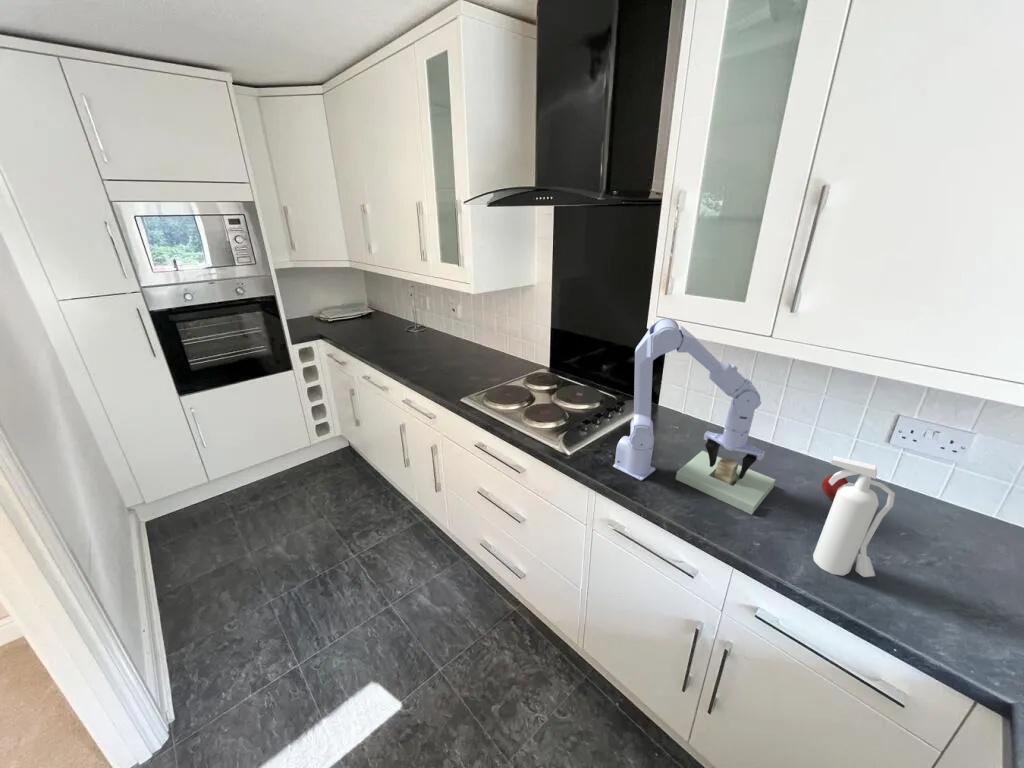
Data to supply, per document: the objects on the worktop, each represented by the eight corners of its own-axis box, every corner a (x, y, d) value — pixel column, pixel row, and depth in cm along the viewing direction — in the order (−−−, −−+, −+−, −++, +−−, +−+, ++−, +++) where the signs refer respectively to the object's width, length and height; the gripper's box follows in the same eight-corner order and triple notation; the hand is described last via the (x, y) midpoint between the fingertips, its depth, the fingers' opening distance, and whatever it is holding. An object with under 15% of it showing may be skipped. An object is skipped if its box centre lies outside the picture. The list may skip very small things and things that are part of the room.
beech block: (712, 483, 116) (717, 462, 114) (718, 477, 119) (723, 456, 116) (727, 490, 114) (733, 468, 111) (733, 484, 116) (738, 462, 113)
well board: (675, 479, 118) (676, 471, 117) (700, 457, 128) (702, 450, 127) (751, 514, 105) (753, 506, 104) (773, 487, 115) (775, 479, 114)
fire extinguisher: (869, 592, 84) (912, 485, 75) (799, 560, 92) (829, 460, 83) (875, 574, 88) (915, 471, 79) (807, 544, 96) (837, 448, 87)
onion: (819, 488, 114) (828, 463, 111) (845, 497, 111) (855, 472, 108) (816, 499, 110) (825, 473, 107) (843, 508, 107) (854, 482, 104)
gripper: (703, 422, 112) (693, 465, 117) (762, 443, 102) (749, 489, 108) (713, 414, 116) (704, 456, 122) (771, 433, 107) (759, 477, 112)
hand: (726, 471), depth 115 cm, fingers open, 7 cm apart
